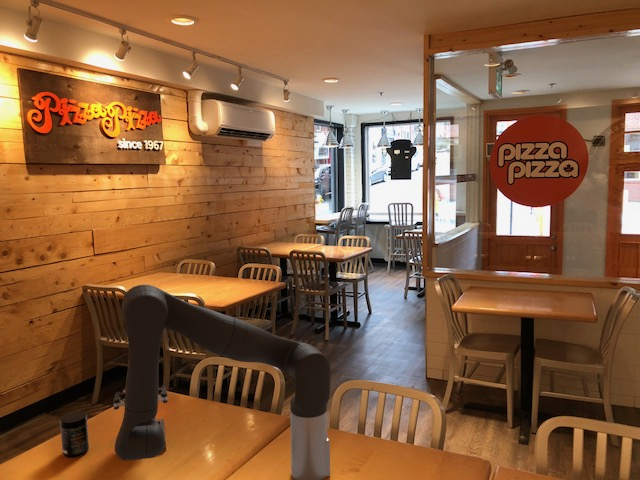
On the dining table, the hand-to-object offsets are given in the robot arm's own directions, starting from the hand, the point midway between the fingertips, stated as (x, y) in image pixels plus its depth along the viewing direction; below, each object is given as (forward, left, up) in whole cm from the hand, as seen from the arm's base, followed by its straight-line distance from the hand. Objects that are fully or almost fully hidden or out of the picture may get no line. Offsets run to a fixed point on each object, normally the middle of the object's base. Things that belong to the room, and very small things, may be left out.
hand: (141, 387), depth 149 cm
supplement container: (+18, +1, -16) cm, 24 cm away
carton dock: (0, +1, -16) cm, 16 cm away
